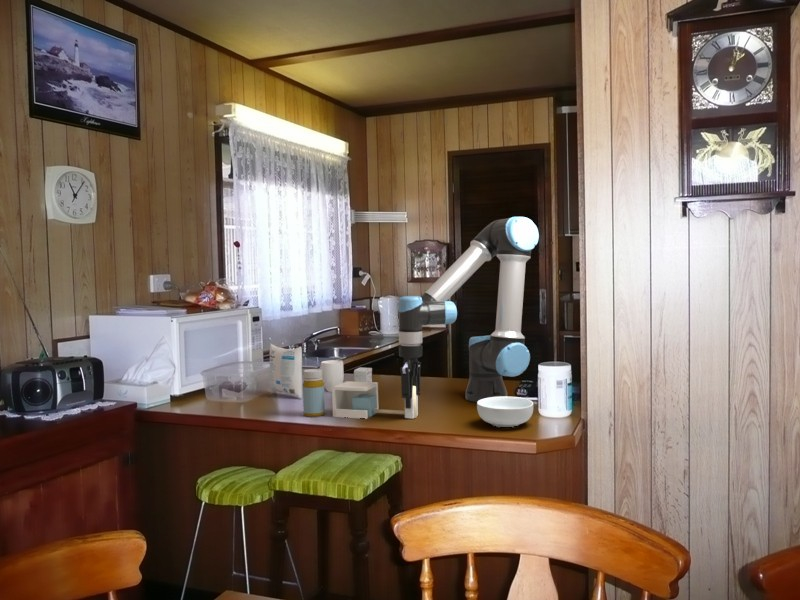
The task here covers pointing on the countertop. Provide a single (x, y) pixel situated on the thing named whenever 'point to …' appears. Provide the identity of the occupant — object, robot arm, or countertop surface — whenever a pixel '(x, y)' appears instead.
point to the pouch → (286, 370)
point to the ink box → (363, 375)
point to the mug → (332, 373)
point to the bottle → (313, 393)
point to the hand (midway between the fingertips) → (411, 416)
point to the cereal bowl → (505, 410)
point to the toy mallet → (370, 404)
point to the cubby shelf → (344, 396)
